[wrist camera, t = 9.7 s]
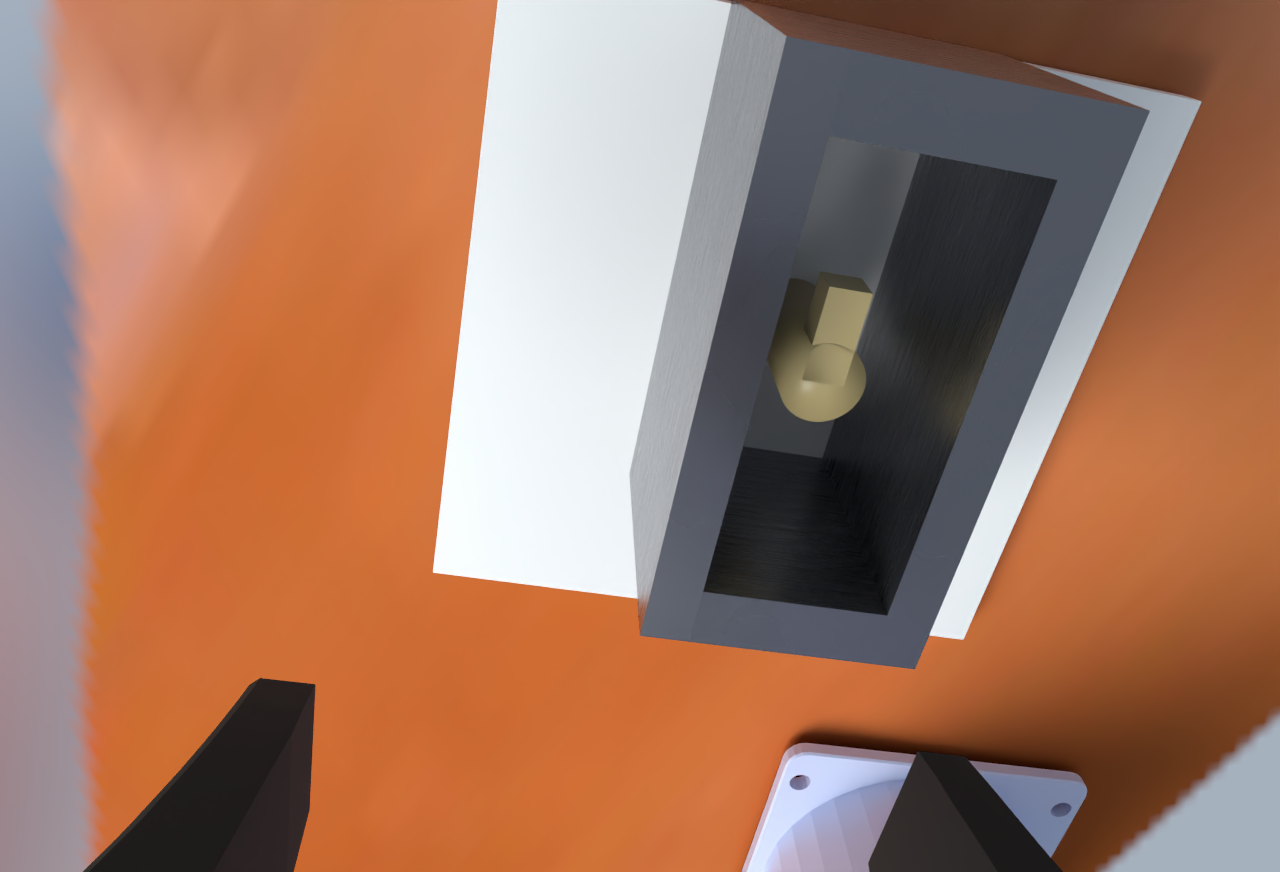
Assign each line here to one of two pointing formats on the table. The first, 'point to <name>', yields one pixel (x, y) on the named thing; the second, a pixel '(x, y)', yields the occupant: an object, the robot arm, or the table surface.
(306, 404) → the table surface
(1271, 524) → the table surface
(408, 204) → the table surface
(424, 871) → the table surface
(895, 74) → the grey open storage bin
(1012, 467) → the keeper plate
